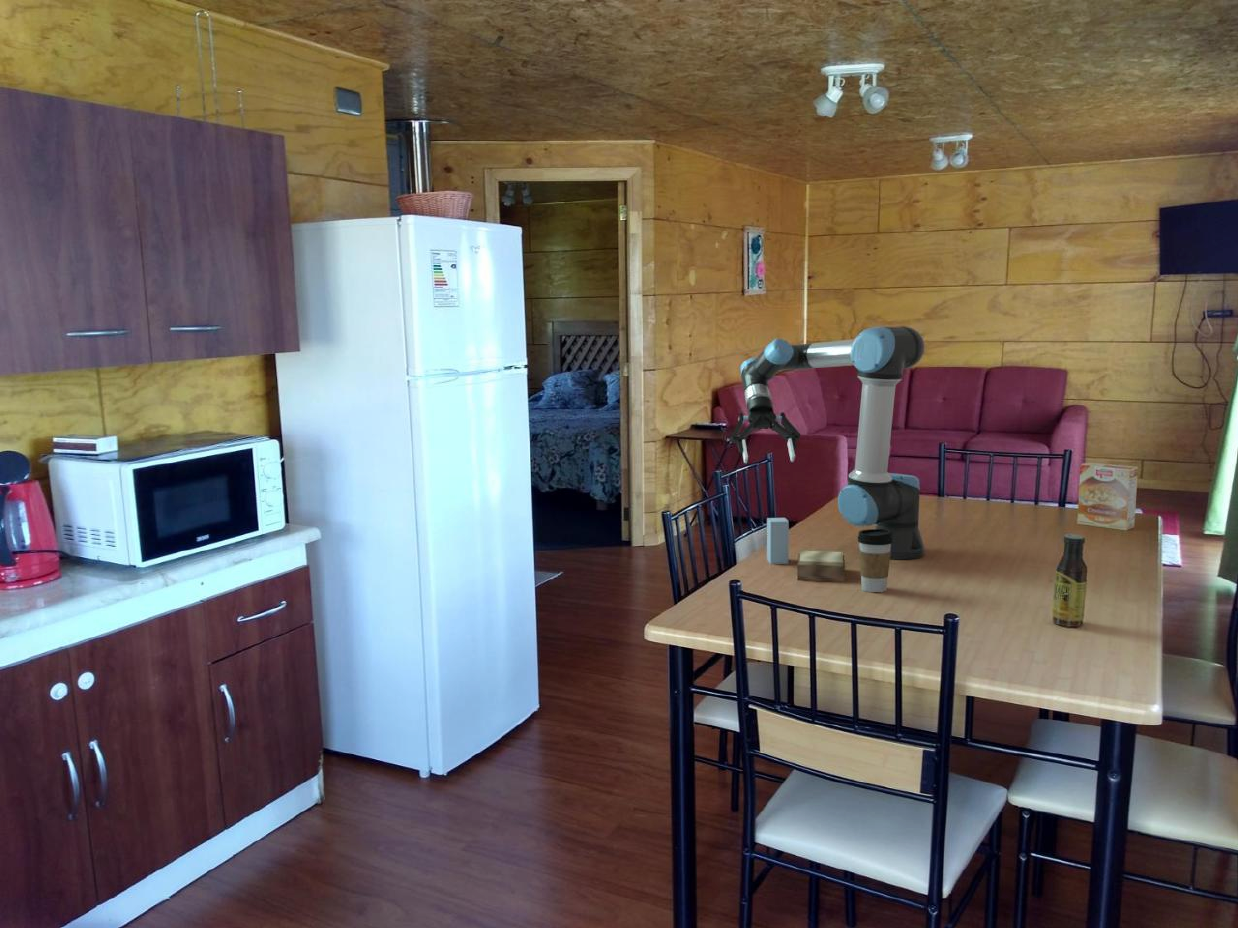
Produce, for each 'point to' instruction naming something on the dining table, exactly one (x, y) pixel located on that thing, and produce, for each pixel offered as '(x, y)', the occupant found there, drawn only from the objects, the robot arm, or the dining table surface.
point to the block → (777, 540)
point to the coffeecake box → (1107, 495)
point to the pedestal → (821, 566)
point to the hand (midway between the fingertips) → (769, 459)
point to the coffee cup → (874, 558)
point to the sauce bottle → (1070, 584)
